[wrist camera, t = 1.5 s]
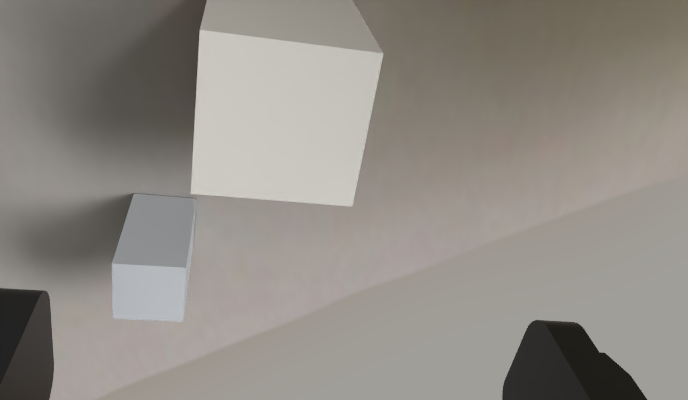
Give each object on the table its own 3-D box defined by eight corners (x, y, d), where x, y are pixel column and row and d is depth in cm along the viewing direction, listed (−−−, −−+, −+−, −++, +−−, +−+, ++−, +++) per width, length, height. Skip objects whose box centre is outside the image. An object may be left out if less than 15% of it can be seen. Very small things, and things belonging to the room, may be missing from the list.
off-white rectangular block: (351, -1, 24) (383, 53, 18) (330, 124, 26) (352, 206, 21) (212, -22, 23) (199, 29, 17) (203, 111, 25) (190, 193, 20)
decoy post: (196, 198, 27) (186, 267, 23) (193, 247, 28) (183, 321, 24) (133, 193, 27) (111, 263, 22) (133, 243, 28) (112, 318, 24)
